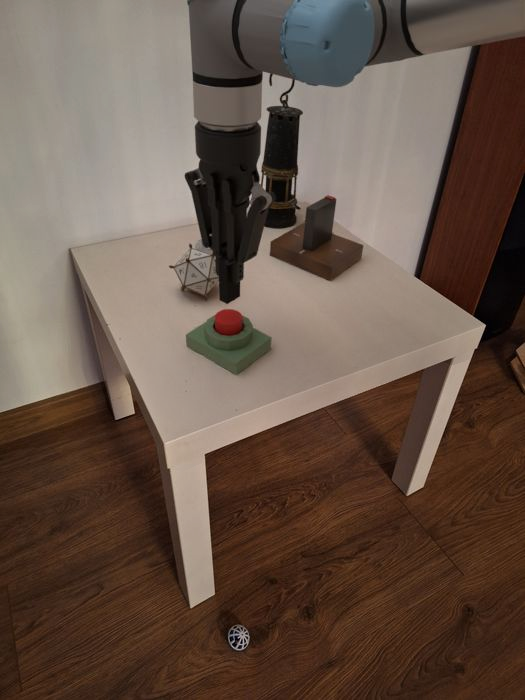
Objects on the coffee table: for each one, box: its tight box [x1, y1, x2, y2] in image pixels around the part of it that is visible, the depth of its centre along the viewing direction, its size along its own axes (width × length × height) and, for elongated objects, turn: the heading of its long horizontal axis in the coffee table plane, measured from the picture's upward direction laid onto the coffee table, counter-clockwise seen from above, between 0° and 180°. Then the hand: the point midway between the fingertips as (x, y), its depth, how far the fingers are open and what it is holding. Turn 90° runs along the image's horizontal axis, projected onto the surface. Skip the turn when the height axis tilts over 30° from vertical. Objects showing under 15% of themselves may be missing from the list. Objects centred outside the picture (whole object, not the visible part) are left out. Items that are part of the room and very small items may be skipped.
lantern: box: [260, 73, 304, 229], centre depth 106 cm, size 9×9×30 cm
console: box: [269, 222, 364, 282], centre depth 102 cm, size 14×11×3 cm
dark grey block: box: [303, 194, 337, 251], centre depth 98 cm, size 7×2×8 cm, turn 142°
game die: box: [168, 242, 219, 302], centre depth 89 cm, size 9×8×10 cm
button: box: [214, 308, 243, 336], centre depth 77 cm, size 4×4×2 cm
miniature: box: [194, 234, 213, 254], centre depth 103 cm, size 8×8×5 cm
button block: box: [185, 314, 272, 376], centre depth 79 cm, size 10×8×4 cm
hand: (229, 298), depth 74 cm, fingers closed
